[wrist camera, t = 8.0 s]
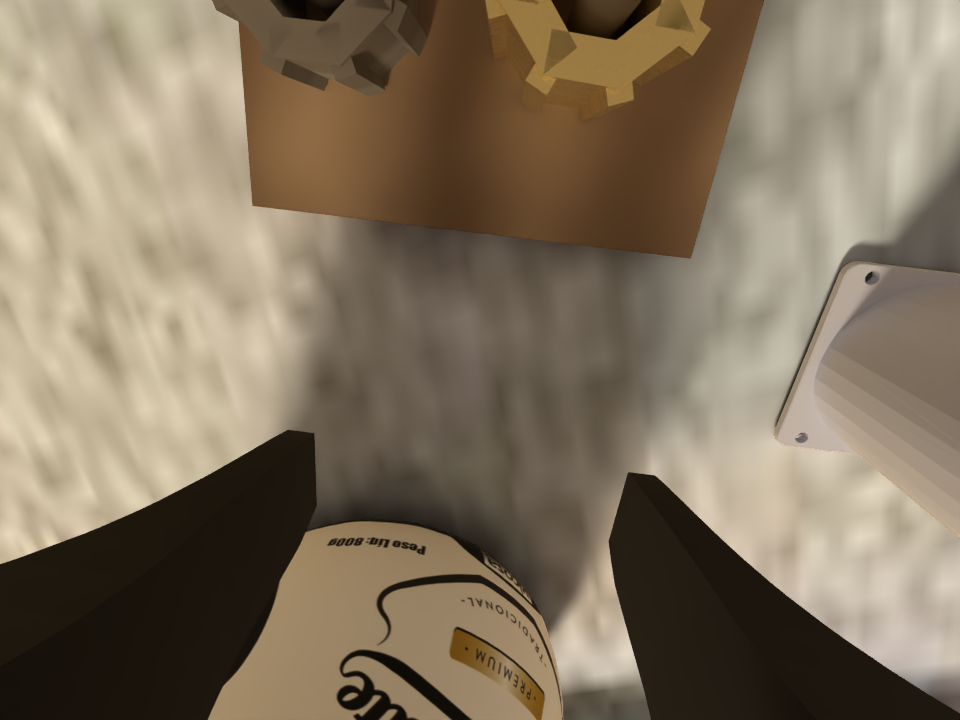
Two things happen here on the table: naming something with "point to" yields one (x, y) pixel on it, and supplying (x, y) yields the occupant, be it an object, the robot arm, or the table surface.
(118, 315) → the table surface
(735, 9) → the gear board
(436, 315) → the table surface
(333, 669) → the milk container
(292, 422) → the table surface
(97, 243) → the table surface
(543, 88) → the brass gear
